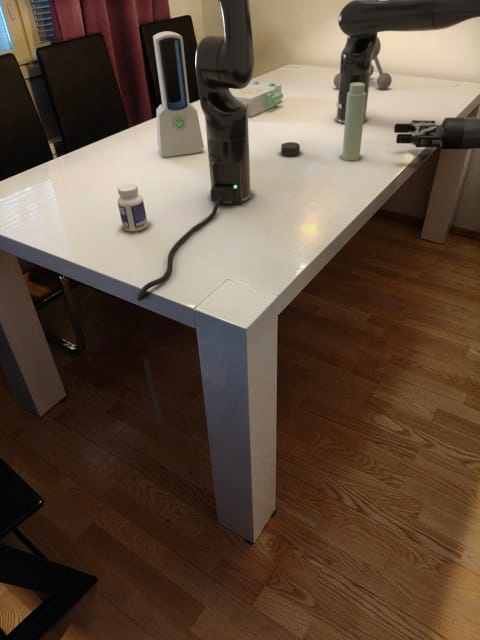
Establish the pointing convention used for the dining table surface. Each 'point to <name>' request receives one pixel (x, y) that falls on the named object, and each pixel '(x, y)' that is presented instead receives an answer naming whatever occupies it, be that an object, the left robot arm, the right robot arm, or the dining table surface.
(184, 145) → the electronic device
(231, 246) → the dining table surface
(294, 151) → the lid
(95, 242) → the dining table surface
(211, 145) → the left robot arm
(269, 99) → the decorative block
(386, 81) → the molecular model
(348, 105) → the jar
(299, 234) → the dining table surface
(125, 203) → the pill bottle
